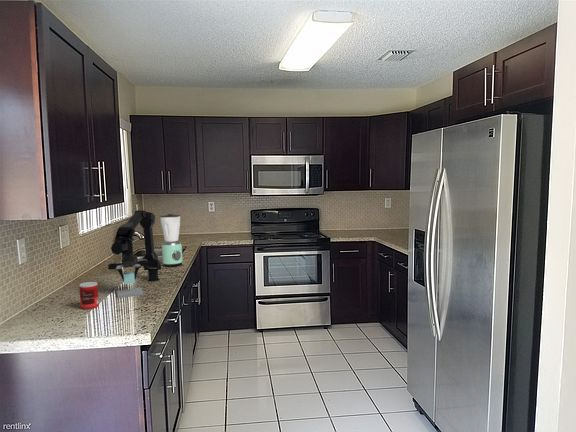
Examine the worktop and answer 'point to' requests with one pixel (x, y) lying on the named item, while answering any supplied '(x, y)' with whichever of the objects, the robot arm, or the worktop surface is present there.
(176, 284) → the worktop surface
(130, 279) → the block
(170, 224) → the blender
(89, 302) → the canned food
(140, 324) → the worktop surface
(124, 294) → the pad
